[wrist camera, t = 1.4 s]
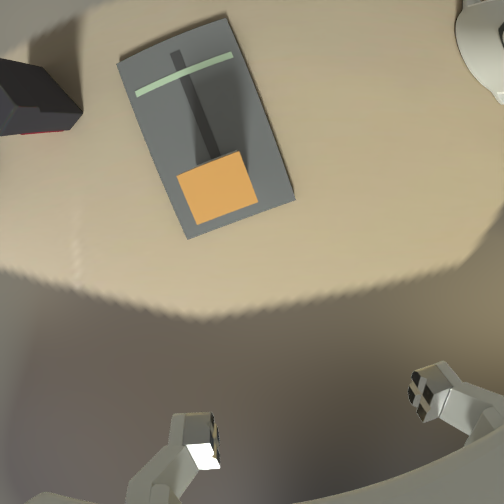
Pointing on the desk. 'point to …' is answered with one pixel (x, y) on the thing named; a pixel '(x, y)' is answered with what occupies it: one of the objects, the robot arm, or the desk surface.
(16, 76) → the calculator
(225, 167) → the fader knob
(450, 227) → the desk surface
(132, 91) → the fader console
